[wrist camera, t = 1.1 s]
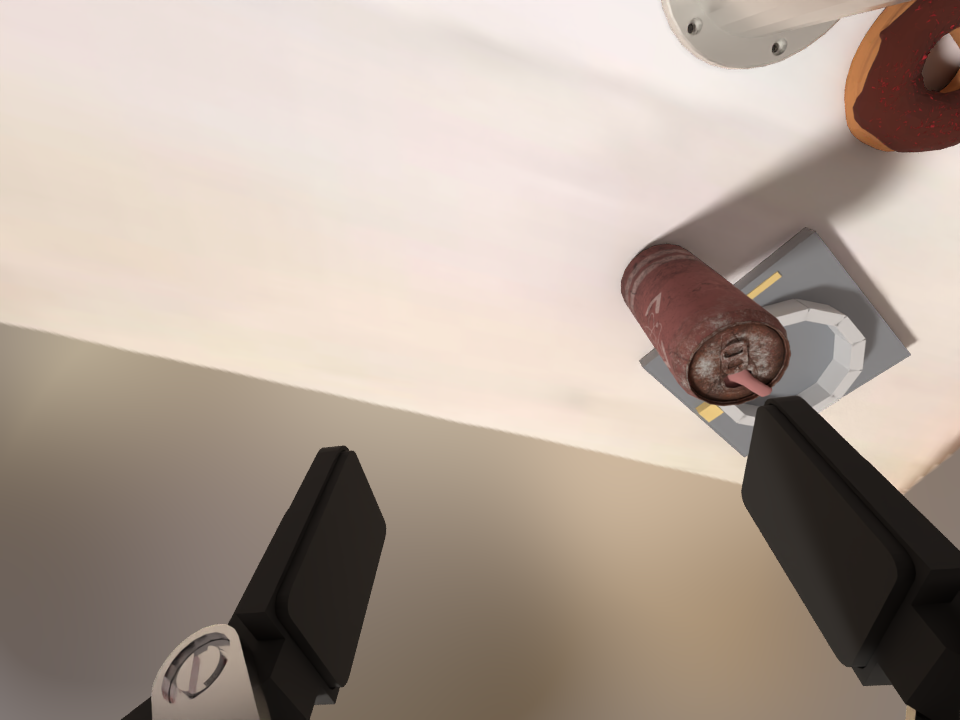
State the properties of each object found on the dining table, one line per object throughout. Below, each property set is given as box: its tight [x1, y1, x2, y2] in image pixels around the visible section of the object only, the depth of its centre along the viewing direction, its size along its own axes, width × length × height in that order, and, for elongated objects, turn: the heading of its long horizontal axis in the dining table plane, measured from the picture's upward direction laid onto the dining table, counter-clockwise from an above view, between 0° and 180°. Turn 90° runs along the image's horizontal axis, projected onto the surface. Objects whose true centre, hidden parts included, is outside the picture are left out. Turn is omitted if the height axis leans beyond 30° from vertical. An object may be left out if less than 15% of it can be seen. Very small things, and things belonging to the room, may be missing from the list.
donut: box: [844, 0, 960, 152], centre depth 26 cm, size 10×10×4 cm
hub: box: [639, 227, 911, 457], centre depth 38 cm, size 16×16×3 cm
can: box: [621, 244, 791, 406], centre depth 30 cm, size 6×6×14 cm
